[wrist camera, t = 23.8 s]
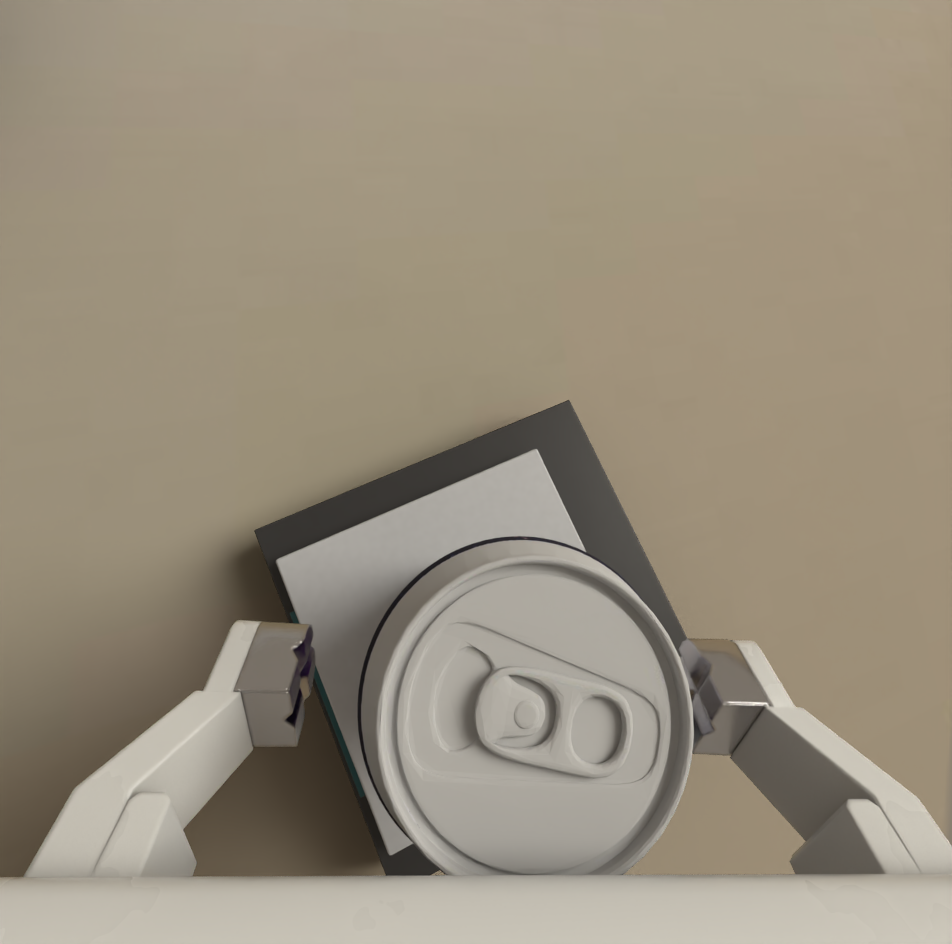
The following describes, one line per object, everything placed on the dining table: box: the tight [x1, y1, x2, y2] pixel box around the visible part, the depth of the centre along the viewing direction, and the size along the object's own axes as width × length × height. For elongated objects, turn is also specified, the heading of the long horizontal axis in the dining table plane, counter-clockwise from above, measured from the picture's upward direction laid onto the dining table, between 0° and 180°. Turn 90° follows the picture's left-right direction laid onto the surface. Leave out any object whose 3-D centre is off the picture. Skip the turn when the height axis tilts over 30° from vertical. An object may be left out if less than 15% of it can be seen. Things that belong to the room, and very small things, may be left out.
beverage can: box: [357, 536, 694, 875], centre depth 14 cm, size 6×6×12 cm
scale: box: [255, 400, 687, 876], centre depth 21 cm, size 14×14×3 cm
